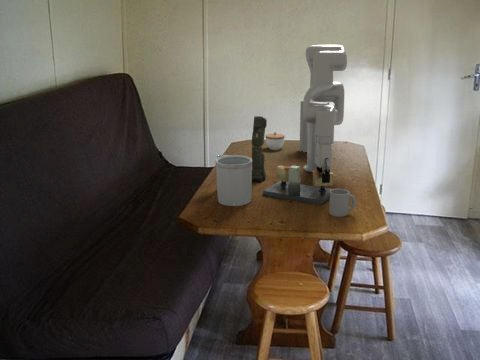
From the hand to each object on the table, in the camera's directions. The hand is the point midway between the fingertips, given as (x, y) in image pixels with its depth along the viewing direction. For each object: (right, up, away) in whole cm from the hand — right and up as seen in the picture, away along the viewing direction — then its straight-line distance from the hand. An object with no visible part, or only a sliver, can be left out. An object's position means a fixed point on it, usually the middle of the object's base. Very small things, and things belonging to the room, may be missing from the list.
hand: (322, 179), depth 235 cm
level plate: (-10, -6, +3) cm, 12 cm away
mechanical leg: (-26, 0, +26) cm, 37 cm away
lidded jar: (-15, +17, +82) cm, 85 cm away
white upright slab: (+6, +16, +77) cm, 78 cm away
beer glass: (-41, -5, +10) cm, 43 cm away
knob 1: (-16, -2, +10) cm, 18 cm away
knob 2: (0, -4, +1) cm, 4 cm away
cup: (+4, -13, -20) cm, 25 cm away
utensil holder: (-37, -9, -5) cm, 38 cm away
